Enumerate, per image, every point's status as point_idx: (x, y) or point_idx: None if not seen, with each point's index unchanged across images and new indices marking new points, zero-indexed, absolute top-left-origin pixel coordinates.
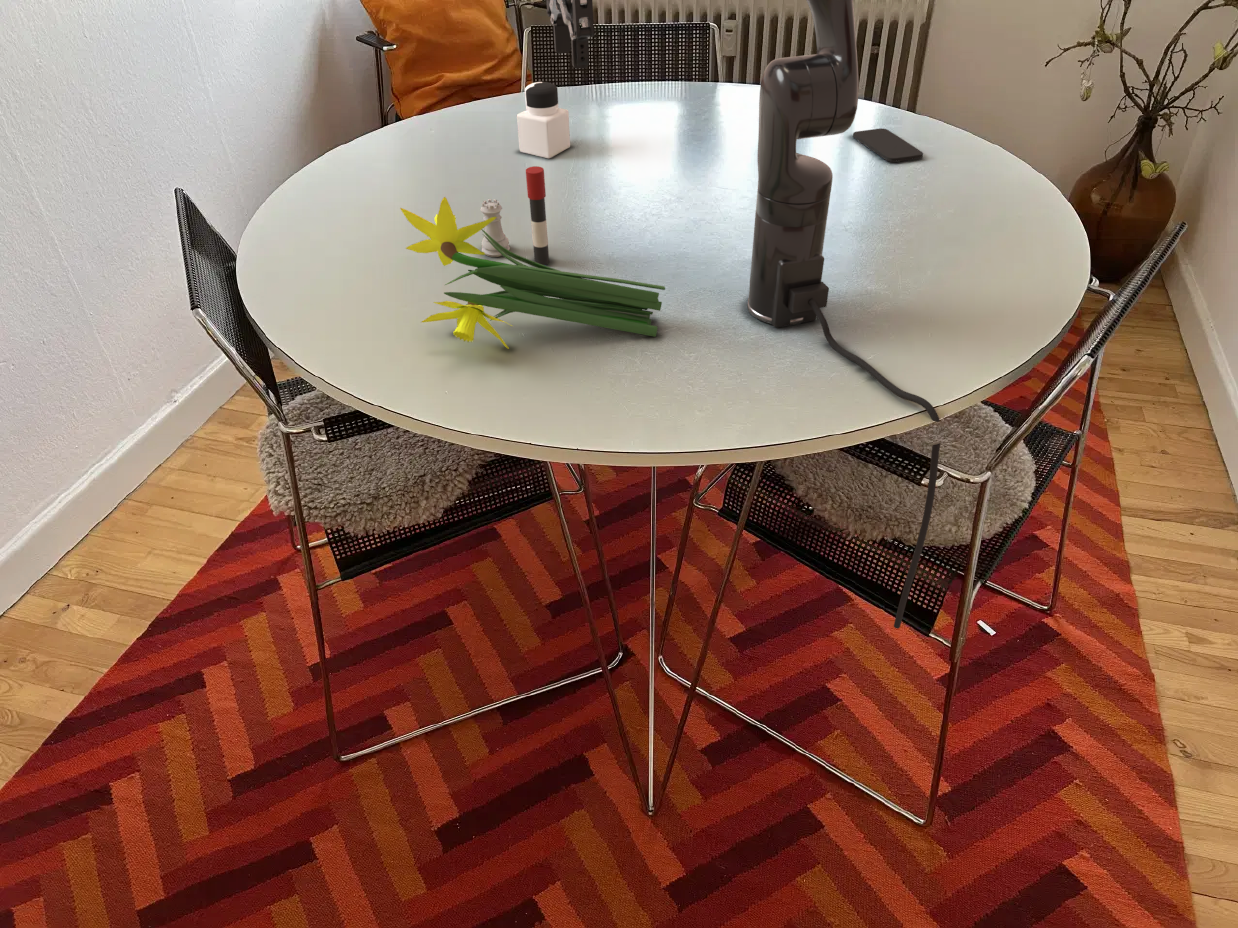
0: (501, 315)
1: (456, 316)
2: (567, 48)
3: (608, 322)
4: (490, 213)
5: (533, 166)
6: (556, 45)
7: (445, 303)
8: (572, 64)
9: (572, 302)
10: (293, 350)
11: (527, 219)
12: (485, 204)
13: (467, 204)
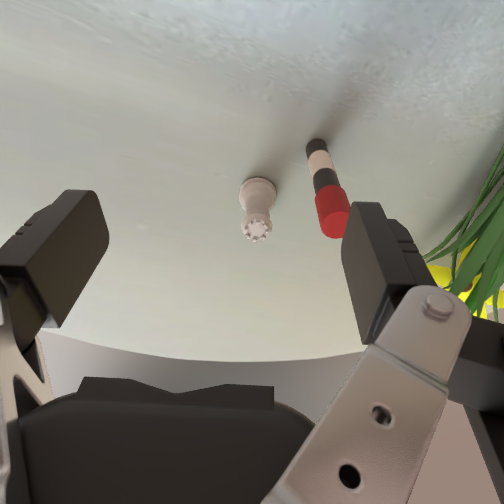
0: (462, 249)
1: (445, 289)
2: (90, 208)
3: None
4: (271, 230)
5: (322, 223)
6: (95, 261)
7: None
8: (343, 261)
9: (501, 174)
10: (351, 351)
11: (169, 125)
12: (251, 235)
13: (99, 189)
